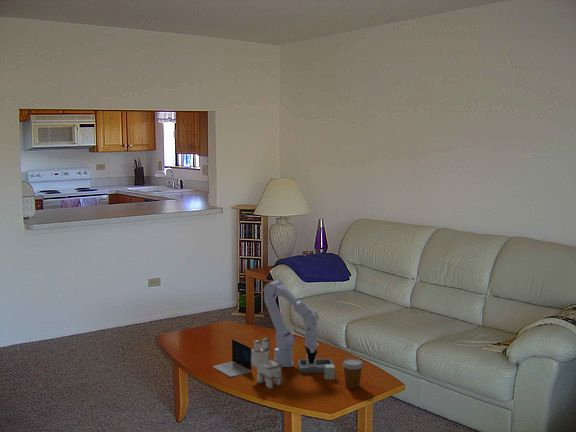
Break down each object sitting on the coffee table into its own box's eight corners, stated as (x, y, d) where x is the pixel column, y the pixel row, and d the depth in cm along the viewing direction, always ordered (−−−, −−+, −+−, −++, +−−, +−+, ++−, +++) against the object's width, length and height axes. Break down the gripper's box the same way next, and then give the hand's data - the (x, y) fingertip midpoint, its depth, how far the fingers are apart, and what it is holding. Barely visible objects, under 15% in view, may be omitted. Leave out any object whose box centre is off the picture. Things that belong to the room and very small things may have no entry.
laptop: (212, 367, 338) (211, 343, 336) (232, 362, 345) (232, 338, 343) (230, 378, 323) (230, 352, 322) (251, 372, 331) (251, 347, 329)
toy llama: (272, 390, 307) (271, 349, 305) (251, 379, 321) (250, 339, 318) (284, 386, 312) (284, 346, 309) (263, 375, 326) (263, 336, 323)
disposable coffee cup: (357, 391, 306) (357, 366, 304) (339, 387, 311) (339, 363, 309) (366, 384, 314) (366, 360, 312) (348, 380, 319) (348, 357, 317)
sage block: (325, 379, 320) (325, 367, 320) (324, 376, 325) (324, 364, 324) (334, 379, 321) (334, 367, 320) (333, 375, 325) (333, 364, 324)
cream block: (307, 366, 332) (307, 354, 331) (306, 363, 336) (306, 351, 335) (315, 365, 332) (316, 354, 331) (315, 362, 336) (315, 351, 335)
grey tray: (300, 373, 328) (300, 368, 327) (298, 365, 340) (298, 359, 339) (333, 372, 329) (334, 367, 329) (330, 364, 341) (330, 358, 340)
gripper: (320, 340, 325) (320, 366, 327) (317, 331, 339) (317, 356, 341) (306, 340, 325) (306, 367, 326) (303, 331, 339) (303, 356, 341)
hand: (310, 361), depth 334 cm, fingers closed on cream block, 4 cm apart
